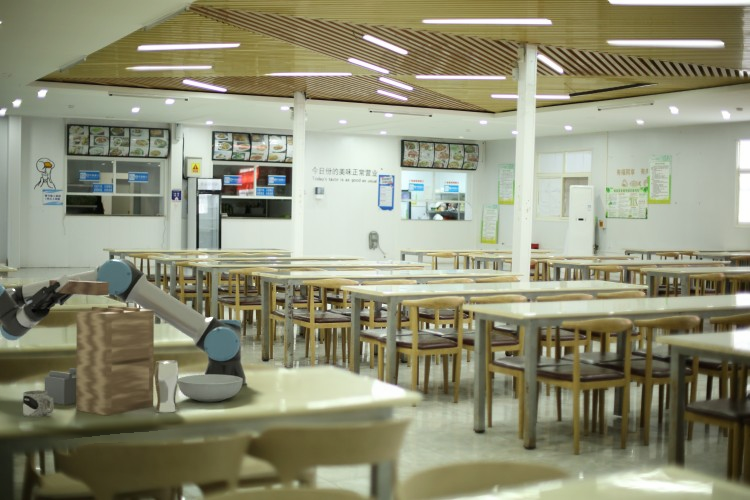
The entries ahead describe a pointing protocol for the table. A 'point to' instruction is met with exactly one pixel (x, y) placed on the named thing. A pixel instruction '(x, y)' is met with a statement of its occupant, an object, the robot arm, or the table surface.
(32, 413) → the mug
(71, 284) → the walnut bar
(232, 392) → the serving bowl
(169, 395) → the beer glass
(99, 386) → the oak stand
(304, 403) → the table surface
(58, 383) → the grey cradle
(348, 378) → the table surface
